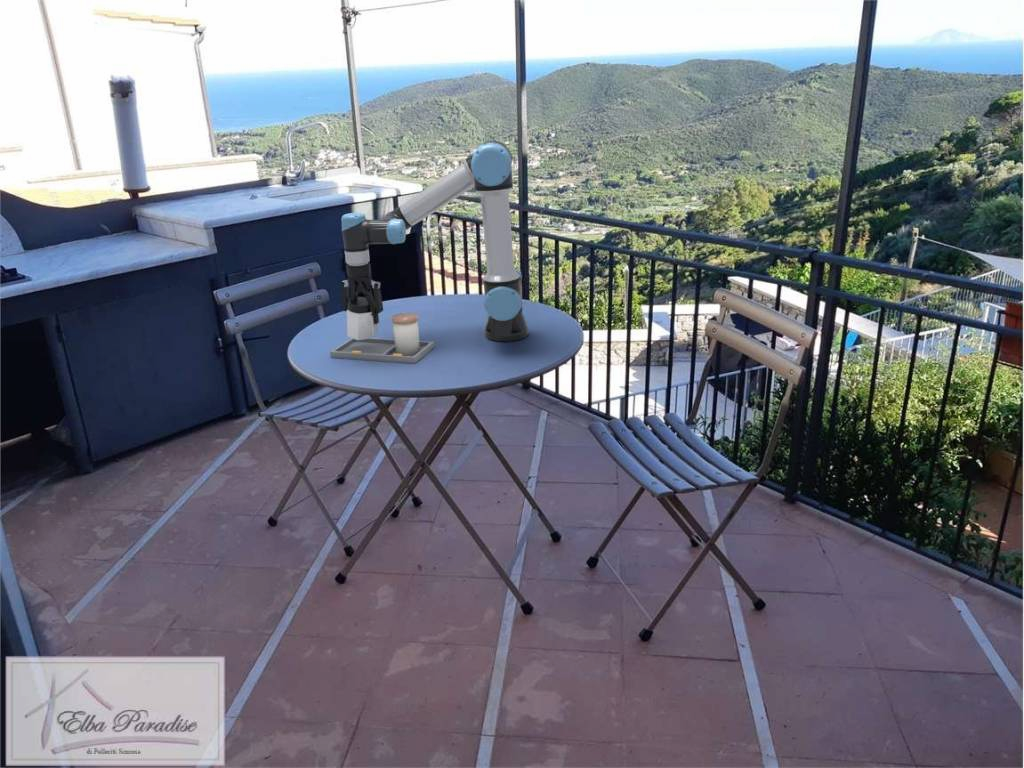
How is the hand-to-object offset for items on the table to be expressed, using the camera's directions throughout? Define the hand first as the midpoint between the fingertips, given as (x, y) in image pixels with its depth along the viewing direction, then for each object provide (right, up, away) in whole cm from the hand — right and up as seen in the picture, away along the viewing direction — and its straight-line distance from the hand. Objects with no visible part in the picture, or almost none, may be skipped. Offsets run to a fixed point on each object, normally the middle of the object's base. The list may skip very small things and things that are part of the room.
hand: (365, 332), depth 246 cm
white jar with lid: (+14, -7, -2) cm, 16 cm away
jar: (-2, -1, +2) cm, 3 cm away
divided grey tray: (+6, -7, +1) cm, 9 cm away
